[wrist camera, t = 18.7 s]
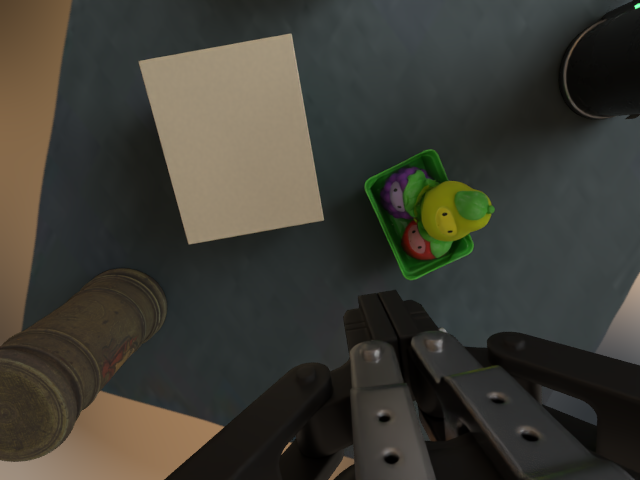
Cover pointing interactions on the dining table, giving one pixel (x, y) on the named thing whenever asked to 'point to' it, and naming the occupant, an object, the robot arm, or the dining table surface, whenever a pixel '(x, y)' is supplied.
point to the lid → (235, 138)
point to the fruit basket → (426, 213)
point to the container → (72, 359)
